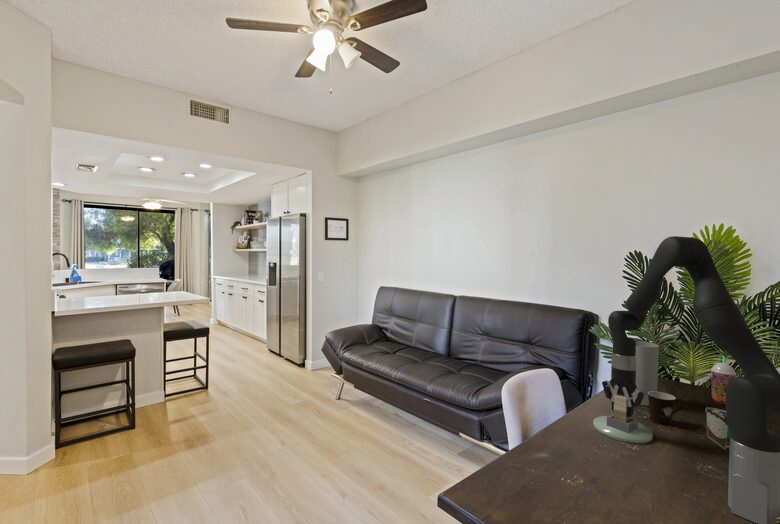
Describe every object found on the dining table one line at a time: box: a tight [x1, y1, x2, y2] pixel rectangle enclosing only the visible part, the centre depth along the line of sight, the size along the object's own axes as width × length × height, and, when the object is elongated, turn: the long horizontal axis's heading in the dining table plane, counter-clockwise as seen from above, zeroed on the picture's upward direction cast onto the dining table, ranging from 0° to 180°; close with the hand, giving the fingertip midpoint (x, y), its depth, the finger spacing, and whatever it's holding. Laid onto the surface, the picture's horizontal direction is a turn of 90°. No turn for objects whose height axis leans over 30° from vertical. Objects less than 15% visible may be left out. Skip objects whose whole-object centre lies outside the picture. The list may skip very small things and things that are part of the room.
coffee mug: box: [648, 391, 684, 426], centre depth 141 cm, size 12×9×10 cm
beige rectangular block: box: [613, 394, 632, 423], centre depth 133 cm, size 4×4×10 cm
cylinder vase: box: [633, 340, 660, 407], centre depth 162 cm, size 12×12×25 cm
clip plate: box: [592, 413, 654, 445], centre depth 133 cm, size 18×18×4 cm
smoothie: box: [710, 356, 737, 406], centre depth 162 cm, size 8×8×20 cm
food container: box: [705, 406, 730, 451], centre depth 125 cm, size 12×6×10 cm, turn 168°
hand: (622, 413), depth 133 cm, fingers closed on beige rectangular block, 4 cm apart
